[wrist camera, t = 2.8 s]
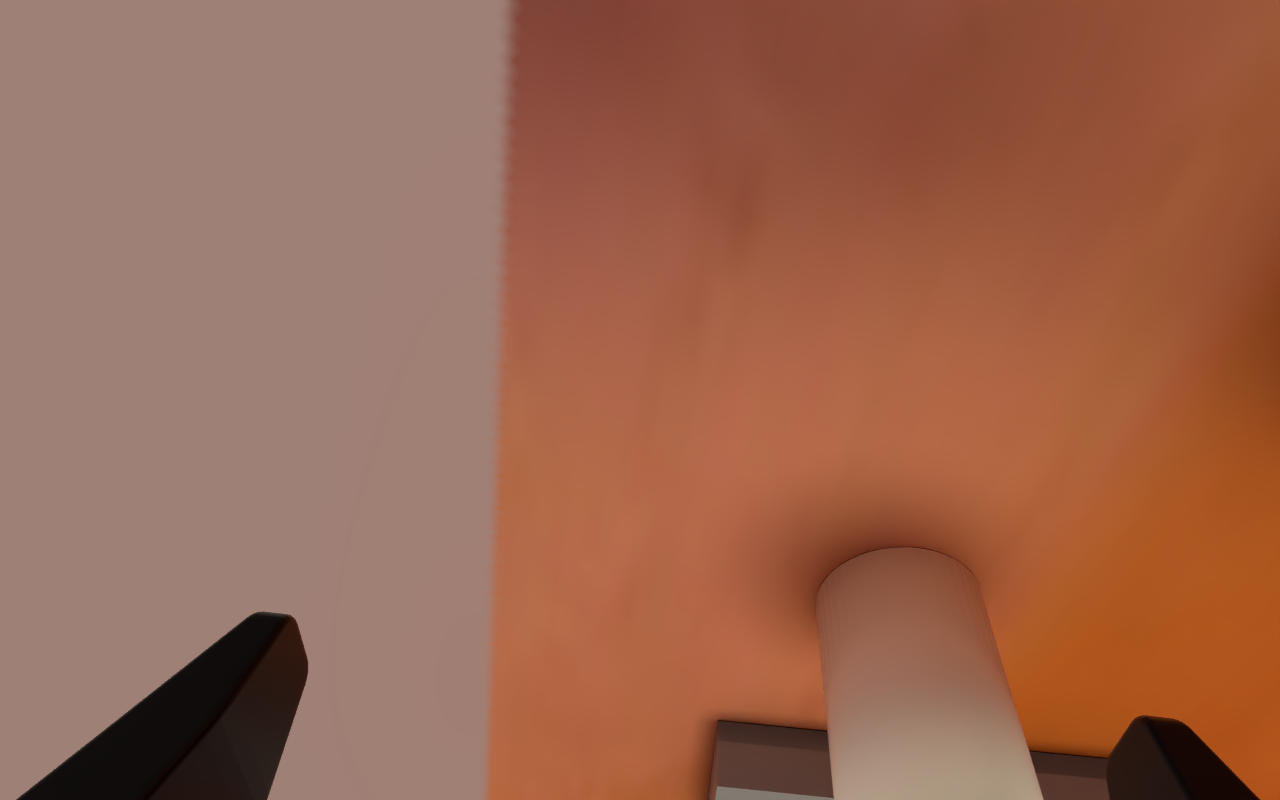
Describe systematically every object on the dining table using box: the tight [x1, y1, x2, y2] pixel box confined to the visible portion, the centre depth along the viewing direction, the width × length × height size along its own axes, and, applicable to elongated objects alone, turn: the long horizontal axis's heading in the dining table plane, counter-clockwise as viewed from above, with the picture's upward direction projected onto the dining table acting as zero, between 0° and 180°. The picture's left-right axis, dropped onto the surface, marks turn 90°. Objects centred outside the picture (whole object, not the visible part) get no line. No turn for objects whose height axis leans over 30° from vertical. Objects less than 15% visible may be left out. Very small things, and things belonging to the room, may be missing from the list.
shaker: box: [815, 547, 1044, 800], centre depth 23 cm, size 5×5×10 cm
